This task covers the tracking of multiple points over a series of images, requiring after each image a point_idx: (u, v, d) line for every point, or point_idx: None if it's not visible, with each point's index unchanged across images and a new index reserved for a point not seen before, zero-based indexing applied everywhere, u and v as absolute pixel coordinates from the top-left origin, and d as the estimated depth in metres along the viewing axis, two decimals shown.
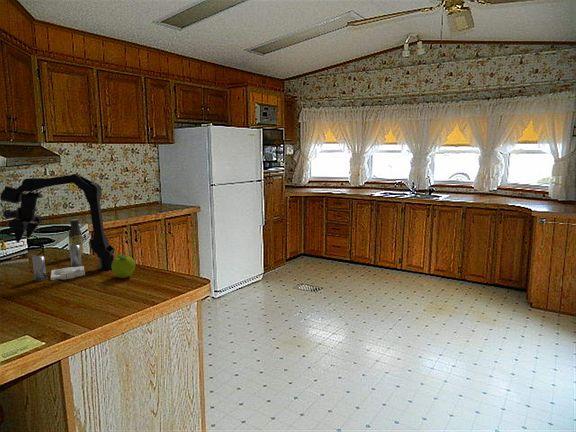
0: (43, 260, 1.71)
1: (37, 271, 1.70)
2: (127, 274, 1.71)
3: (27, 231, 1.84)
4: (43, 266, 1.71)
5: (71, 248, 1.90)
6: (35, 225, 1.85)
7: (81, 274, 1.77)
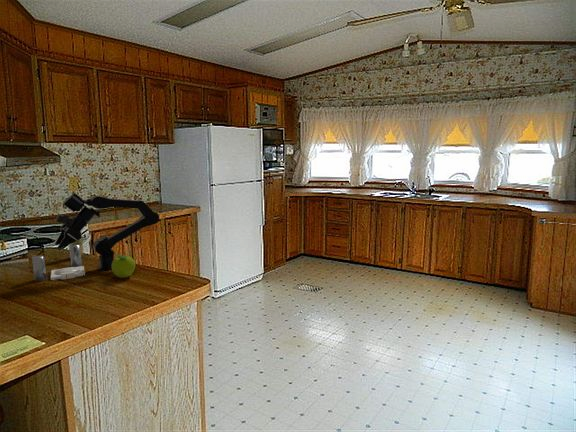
0: (43, 260, 1.71)
1: (37, 271, 1.70)
2: (127, 274, 1.71)
3: (59, 239, 1.79)
4: (43, 266, 1.71)
5: (71, 248, 1.90)
6: None
7: (81, 274, 1.77)
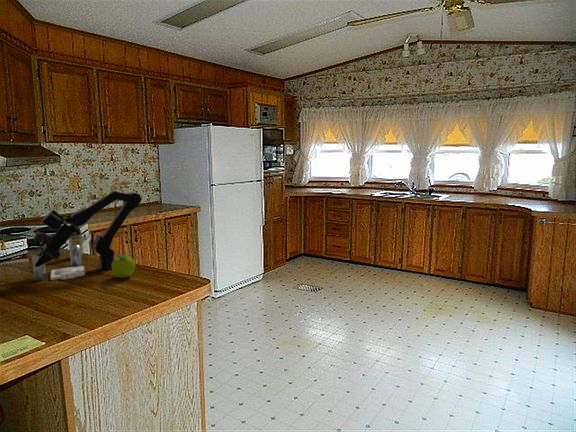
0: None
1: (37, 271, 1.70)
2: (127, 274, 1.71)
3: None
4: (43, 266, 1.71)
5: (71, 248, 1.90)
6: None
7: (81, 274, 1.77)
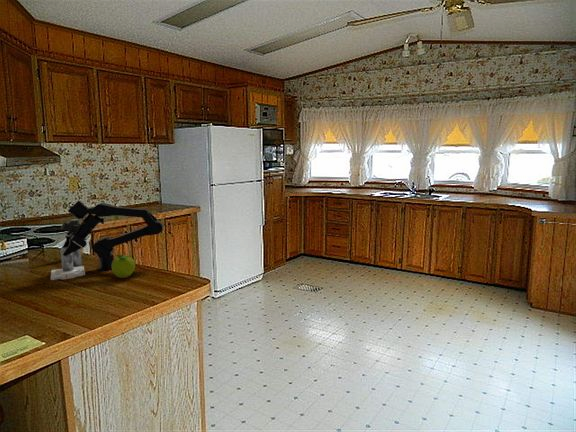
0: None
1: (65, 261, 1.77)
2: (127, 274, 1.71)
3: (64, 246, 1.82)
4: (71, 257, 1.79)
5: None
6: None
7: (81, 274, 1.77)
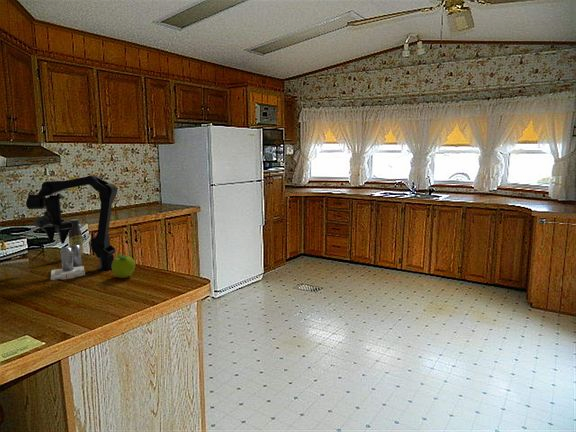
0: (70, 251, 1.79)
1: (65, 261, 1.77)
2: (127, 274, 1.71)
3: (49, 235, 1.86)
4: (71, 257, 1.79)
5: None
6: (54, 227, 1.88)
7: (81, 274, 1.77)
